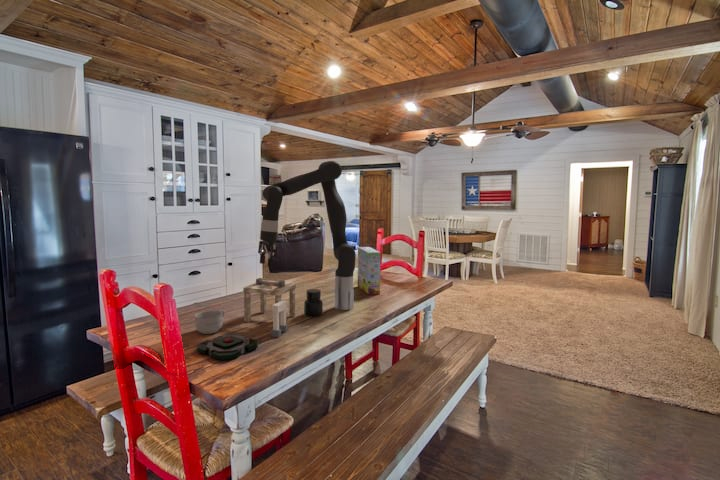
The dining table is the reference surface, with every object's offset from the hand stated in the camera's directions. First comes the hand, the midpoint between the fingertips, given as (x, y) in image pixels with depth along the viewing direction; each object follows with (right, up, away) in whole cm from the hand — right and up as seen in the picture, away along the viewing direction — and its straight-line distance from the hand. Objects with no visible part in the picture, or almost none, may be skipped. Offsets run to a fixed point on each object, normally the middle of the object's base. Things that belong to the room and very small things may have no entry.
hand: (265, 265), depth 175 cm
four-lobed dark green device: (-6, -30, -31) cm, 44 cm away
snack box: (+48, -20, +61) cm, 80 cm away
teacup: (-19, -27, -13) cm, 36 cm away
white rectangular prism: (+9, -28, -14) cm, 33 cm away
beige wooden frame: (+1, -25, +4) cm, 26 cm away
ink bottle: (+20, -25, +11) cm, 34 cm away
